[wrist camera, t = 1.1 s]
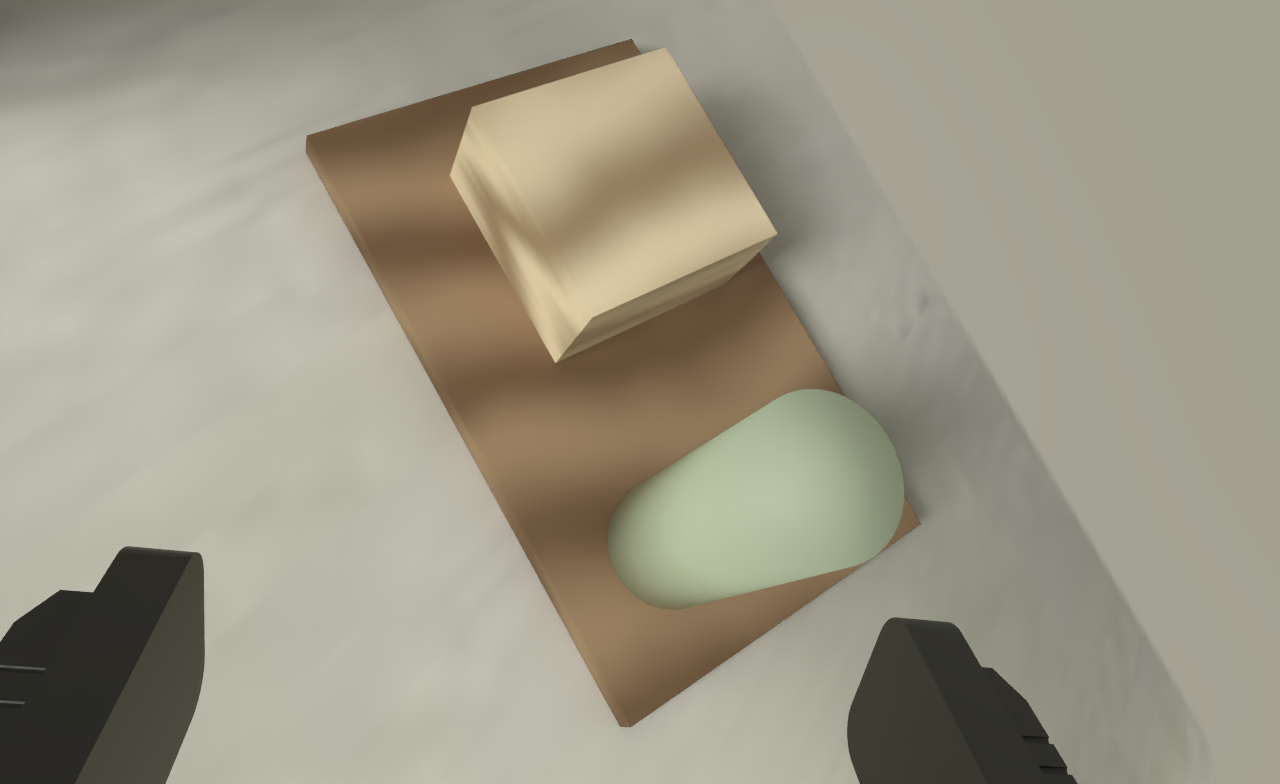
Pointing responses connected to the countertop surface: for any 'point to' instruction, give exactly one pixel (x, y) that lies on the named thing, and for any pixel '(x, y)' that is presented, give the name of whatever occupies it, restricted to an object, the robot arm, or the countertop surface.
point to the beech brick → (607, 199)
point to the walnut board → (571, 389)
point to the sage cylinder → (761, 505)
